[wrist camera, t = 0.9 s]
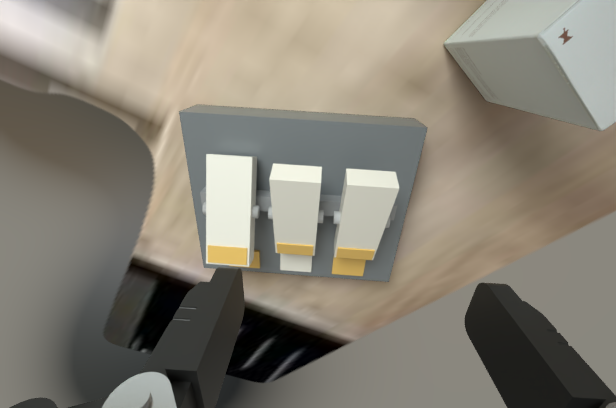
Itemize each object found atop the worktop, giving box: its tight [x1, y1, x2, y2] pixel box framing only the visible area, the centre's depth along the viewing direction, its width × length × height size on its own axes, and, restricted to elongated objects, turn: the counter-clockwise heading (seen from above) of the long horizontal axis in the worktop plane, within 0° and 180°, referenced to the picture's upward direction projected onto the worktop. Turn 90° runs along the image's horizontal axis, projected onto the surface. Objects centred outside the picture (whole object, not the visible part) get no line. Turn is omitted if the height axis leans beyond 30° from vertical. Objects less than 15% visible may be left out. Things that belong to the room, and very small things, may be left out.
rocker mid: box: [268, 163, 324, 256], centre depth 26 cm, size 10×5×2 cm, turn 177°
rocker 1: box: [202, 154, 260, 267], centre depth 26 cm, size 10×5×2 cm, turn 177°
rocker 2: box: [333, 168, 399, 260], centre depth 26 cm, size 10×5×2 cm, turn 177°
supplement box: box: [444, 0, 616, 131], centre depth 19 cm, size 7×7×13 cm
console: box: [179, 105, 427, 282], centre depth 30 cm, size 18×22×5 cm
